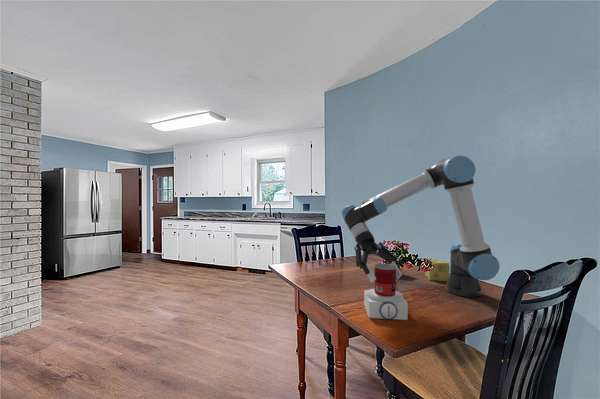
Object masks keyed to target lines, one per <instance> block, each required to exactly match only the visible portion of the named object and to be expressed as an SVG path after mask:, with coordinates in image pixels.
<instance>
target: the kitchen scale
mask: <svg viewBox="0 0 600 399" xmlns="http://www.w3.org/2000/svg"><path fill="white" fill-rule="evenodd" d="M363 295H364V299H363V302H364V303H363V306H364V308H365V311H366V313H367V316H368V318H369V319H385V320H405V321H406V320H407V321H408V315H409V312H408V311H409V303H408V302H407V300H406V299H405V298H404V297H405V296H404V294H403V293H402V292H400V291H398V290H396V293H395V295H394V296H391V297H385V296H380V295H377V294H376V293H375V288H370V289H364V294H363Z"/></svg>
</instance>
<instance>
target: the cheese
mask: <svg viewBox="0 0 600 399" xmlns="http://www.w3.org/2000/svg"><path fill="white" fill-rule="evenodd" d="M428 260H431V262H432V263H433V264H434V268H433V269H432V270H430V271H428V272H425V271H424V272H425V274H424V275H425V277H426V278H428V280H429V281H439V282H448V279H449V277H450V262H447V261H445V260H444V259H431V258H430V259H428Z"/></svg>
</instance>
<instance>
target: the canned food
mask: <svg viewBox="0 0 600 399" xmlns="http://www.w3.org/2000/svg"><path fill="white" fill-rule="evenodd" d="M374 275H375V277H376V280H375V281H374V289H375V293H376V294H377V295H380V296H385V297H391V296H394V295H395V293H396V291H397V290H396V289H397V287H396V286H397V285H396V284H397V282H396V281H397V277H396V266H394V265H390V264H388V263H379V264H378V263H377V264H375V265H374Z"/></svg>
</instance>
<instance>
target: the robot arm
mask: <svg viewBox="0 0 600 399" xmlns="http://www.w3.org/2000/svg"><path fill="white" fill-rule="evenodd" d="M475 174H476V166H475V163H474V161H473V160H472V159H471V158H469V157H467V156H465V155H453V156H450V157H448V158H444V159H441V160H440V161H438V162H437V163H435V164H434V165H432V166H430V167H429V168H427V169H425V170H423V171H422V173H421V174H419V175H417V176H415V177H413V178H411V179H408V180H406V181H404V182H402V183H401V184H398V185H396V186H393V187H391V188H389V189H387V190H385V191H384V192H381V193H379V194H377V195H375V196H373V197H371V198H369V199H365V200H364V201H362V202H361V204H360V206H357V207H356V206H355V205H354V204H351V205H347V206H345V207H344V208H343V209H342V210H341V216H342V218H343V220H344V222H345V224H346V226H347V227H348V229H349V232H350V233H351V235H352V237H353V239H354V240H355V243H356V245H355V246H354V248H353V249H354V252H355V266H356V267H357V268H358V267H359V268H360V270H363V272H364V274H365V275H367V277H368V279H369V281H370V283H371V284H372V283H375V280H376V277H375V273H374V272H373V269H372V268H371V266H370V265H369V263H367V262H368V257H369V256H370V255H371V256H372V255H374V256H378V257H380V258H381V259H382V260H384V261H385V262H388V263H390V265H394V266H396V280H398V279H400V278H401V277H402V276H403V274H402V271H401V272H400V270H399V267H398V266H397V264H396V262H395V261H396V260H397V257H396V256H397V255H395V254H394V253H393V252H391V251H390V250H389V249H388V248H387V247H386V246H385V245H384V243H383V242H382V241H379V243H376V242H375V237H374V235H373V233H372V232H371V231H370V228H369V227H368V225H367V223H366V222H368V221H369V220H372V219H374V218H376V217H378V216H379V215H383V213H385V212H386V211H387V210H388V208H389V207H392V206H393V205H396V204H397V203H400V202H401V201H404V200H406V199H409V198H410V197H413V196H415V195H417V194H420V193H421V192H424V191H427V189H435V188H437V187H440V186H443V189H444V191H446V192H448V193H449V196H450V201H451V204H452V208H453V211H454V212H453V213H454V216H455V221H456V224H457V225H456V226H457V228H458V233H459V237H460V241H461V244H457V243H456V244H455V243H454V244H452V245H451V247H450V251H449V252H450V261H449V267H450V271H449V278H448V281H446V283H445V290H446V292H448V293H450V294H453V295H456V296H461V297H468V298H478V297H477V296H479V297H482V296H481V295H483V289H482V286H481V283H480V281H490V280H492V279H494V278H495V277H496V275H498V273H499V271H500V267H501V266H500V262H499V260H498V258H497V257H496V256H495V255H493V253H492V249H491V246H490V245H489V243H486V242H485V239H484V234H483V229H482V227H481V222H480V219H479V214H478V211H477V210H478V209H477V206H476V201H475V197H474V194H473V190H472V188H473V186H474V185H475V180H474V176H475ZM362 251H363V253H362ZM393 258H394V259H393ZM390 260H391V261H390ZM388 263H387V264H388Z"/></svg>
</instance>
